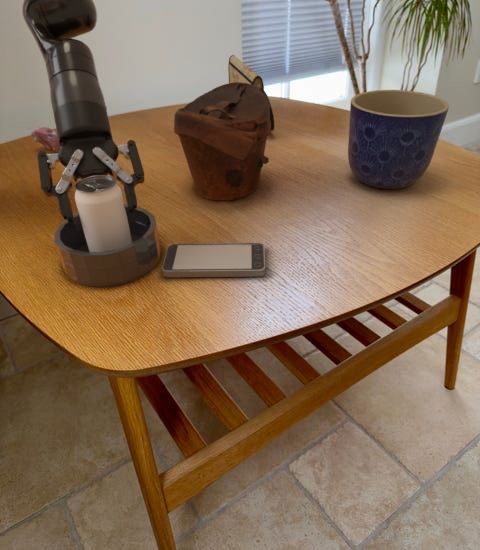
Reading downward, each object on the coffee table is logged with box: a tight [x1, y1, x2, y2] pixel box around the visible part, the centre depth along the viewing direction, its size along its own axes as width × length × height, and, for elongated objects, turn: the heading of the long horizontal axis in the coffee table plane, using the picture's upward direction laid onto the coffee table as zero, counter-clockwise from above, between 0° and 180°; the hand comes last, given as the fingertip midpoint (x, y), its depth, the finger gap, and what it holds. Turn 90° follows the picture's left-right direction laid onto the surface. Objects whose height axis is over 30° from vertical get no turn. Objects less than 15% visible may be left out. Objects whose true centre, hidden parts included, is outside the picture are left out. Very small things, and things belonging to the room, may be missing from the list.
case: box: [173, 82, 272, 201], centre depth 81 cm, size 18×20×18 cm
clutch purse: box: [227, 54, 275, 132], centre depth 114 cm, size 30×7×15 cm, turn 14°
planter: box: [347, 89, 450, 190], centre depth 83 cm, size 17×17×15 cm
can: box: [74, 174, 132, 252], centre depth 64 cm, size 6×6×12 cm
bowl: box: [53, 203, 162, 288], centre depth 66 cm, size 15×15×6 cm
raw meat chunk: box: [30, 126, 60, 153], centre depth 104 cm, size 10×5×7 cm, turn 55°
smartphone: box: [161, 242, 266, 278], centre depth 65 cm, size 7×1×15 cm
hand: (101, 216), depth 62 cm, fingers open, 8 cm apart
